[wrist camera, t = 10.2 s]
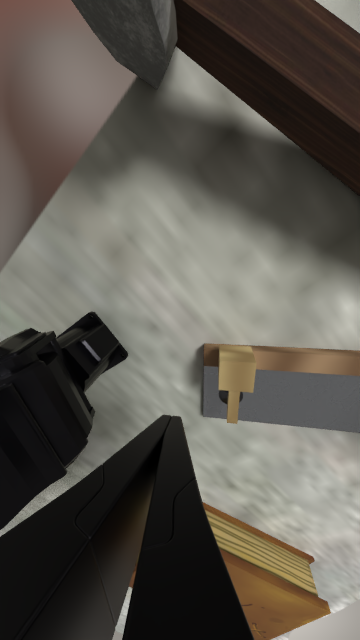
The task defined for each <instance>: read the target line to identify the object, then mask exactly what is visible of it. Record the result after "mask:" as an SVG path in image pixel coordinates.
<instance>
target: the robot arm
mask: <svg viewBox="0 0 360 640" xmlns="http://www.w3.org/2000/svg"><path fill="white" fill-rule="evenodd" d="M91 315H92V316H93V318H92V317H91ZM55 337H56V335H55V333H54V331H51V332H47V333H45V332H44V333H41V332H38V331H36V330H34V329H32V328H30V329H26V330H24V331H22V332H19V333H17V334H15V335H13V336H11V337H9V338H7V339H5V340H3V341H2V342H0V530H1V529H2V528H4V527H5V526H6V525H7V524H8V523H9V522H10V521H11V520H12V519H13V518H14V517H15V516H16V515H17V514H18V513H19V512H20V511H21V510H22V509H23V508H24V507H25V506H26V505H27V504H28V503H29V502H30V501H31V500H32V499H33V498H34V497H35V496H37V495H38V494H39V493H40V492H42V491H43V490H44V489H45V488H47V487H48V486H49V485H51V484H52V483H54V482H56V481H57V480H59V479H60V478H62V477H64V476H65V475H66V474H67V470H66V468H67V467H68V466H69V465H70V464H71V463H72V462H74V460H75V459H76V458H77V457H78V456H79V454H80V453H81V452H82V450H83V449H84V448H85V447H86V445H87V443H88V440H87V437H88V435H89V433H90V430H91V428H92V421H93V416H94V413H95V411H94V409H93V407H91V405H90V403H89V402H88V400H87V398H86V396H85V394H84V393H85V391H86V390H87V389H88V388H89V387H90V386H91V385H92V384H93V382H94V381H95V380H96V379H97V378H98V377H99V376H100V375H101V374H102V373H104V372H105V371H107V370H109V369H110V368H112V367H113V366H115V365H117V364H118V363H120V362H122V361H123V360H125V359H126V358H127V357H128V353H127V351H126V350H125V349H124V348H123V346H122V345H121V344H120V343H119V341H118V340H117V339H116V337H115V336H114V335H113V334H112V332H111V331H110V330H109V329H108V327H107V326H106V325H105V324H104V323H103V322H102V321H101V319H100V318H99V317H98V316H97V314H96V313H95V312H89V313H88V314H86V315H85V316H84V317H82V318H81V319H80V320H79V321H77V322H76V323H75V324H73V325H72V326H71V327H70V328H68V329H67V330H66V331H64V332H63V333H62V334H61V335H59V336H58V337H57V338H55ZM122 354H124V355H125V356H123V355H122ZM140 549H141V552H140ZM139 552H140V554H139ZM138 555H139V559H138ZM137 559H138V564H137V569H136V574H135V579H134V584H133V589H132V594H131V599H130V604H129V609H128V614H127V619H126V623H125V628H124V633H123V638H122V640H255V639H254V637H253V634H252V631H251V629H250V626H249V624H248V621H247V619H246V616H245V613H244V611H243V608H242V606H241V603H240V600H239V598H238V595H237V593H236V590H235V588H234V585H233V582H232V580H231V577H230V575H229V572H228V569H227V567H226V564H225V562H224V559H223V557H222V554H221V551H220V549H219V546H218V544H217V541H216V538H215V536H214V533H213V531H212V528H211V525H210V523H209V520H208V517H207V514H206V512H205V509H204V506H203V503H202V499H201V496H200V492H199V488H198V484H197V480H196V477H195V473H194V469H193V464H192V460H191V456H190V452H189V448H188V444H187V440H186V436H185V432H184V427H183V423H182V419H181V417H180V416H170V415H162V416H161V417H160V418H158V419H157V420H156V421H155V422H153V423H152V424H151V425H150V426H148V427H147V428H146V429H145V430H144V431H142V432H141V433H140V434H139V435H137V436H136V437H135V438H134V439H132V440H131V441H130V442H129V443H128V444H126V445H125V446H124V447H123V448H121V449H120V450H119V451H118V452H117V453H115V454H114V455H113V456H112V457H110V458H109V459H108V460H107V461H105V462H104V463H103V465H100V466H99V467H98V468H96V469H95V470H94V471H93V472H91V473H90V474H89V475H88V476H86V477H85V478H84V479H82V480H81V481H80V482H78V483H77V484H76V485H74V486H73V487H71V488H70V489H69V490H67V491H66V492H64V493H63V494H62V495H60V496H59V497H57V498H56V499H54V500H53V501H51V502H50V503H49V504H47V505H46V506H44V507H43V508H41V509H40V510H38V511H37V512H35V513H34V514H33V515H31V516H30V517H28V518H27V519H25V520H24V521H22V522H21V523H20V524H18V525H17V526H15V527H14V528H12V529H11V530H9V531H8V532H6V533H5V534H4V535H2V536H1V537H0V640H112V638H113V635H114V631H115V627H116V625H117V622H118V619H119V616H120V613H121V609H122V606H123V603H124V600H125V597H126V593H127V590H128V587H129V584H130V581H131V578H132V574H133V571H134V568H135V565H136V562H137Z"/></svg>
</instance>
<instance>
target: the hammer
mask: <svg viewBox="0 0 360 640" xmlns="http://www.w3.org/2000/svg"><path fill="white" fill-rule="evenodd" d="M72 2H73V3H74V5H75V6H76V8H77V9H78V10H79V12H80V13H81V15H82V16H83V18H84V19H85V20H86V22H87V23H88V25H89V26H90V28H91V29H92V31H93V32H94V33H95V35H96V36H97V37H98V38H99V40H100V41H101V42H102V43H103V45H104V46H105V47H106V48H107V49H108V51H109V52H110V53H111V55H112V56H113V57H114V58H115V60H116V61H117V62H119V63H120V64H121V65H123V66H125V67H126V68H127V69H129V70H130V71H132V72H133V73H135V74H136V75H137V76H139V77H140V78H142V79H143V80H144V81H146V82H147V83H149V84H150V85H152V86H153V87H155V88H156V89H158V87H159V85H160V82H161V80H162V78H163V76H164V74H165V71H166V69H167V67H168V64H169V62H170V59H171V56H172V53H173V50H174V48H175V46H176V47H177V48H179V49H180V50H181V51H182V52H184V53H185V54H186V55H187V56H189V57H190V58H191V59H192V60H193V61H195V62H196V63H197V64H198V65H200V66H201V67H202V68H203V69H204V70H206V71H207V72H208V73H209V74H211V75H212V76H213V77H214V78H215V79H217V80H218V81H219V82H220V83H222V84H223V85H224V86H225V87H227V88H228V89H229V90H230V91H231V92H233V93H234V94H235V95H236V96H238V97H239V98H240V99H241V100H242V101H244V102H245V103H246V104H247V105H249V106H250V107H251V108H252V109H253V110H255V111H256V112H257V113H258V114H260V115H261V116H262V117H263V118H265V119H266V120H267V121H268V122H269V123H271V124H272V125H273V126H274V127H276V128H277V129H278V130H279V131H280V132H282V133H283V134H284V135H285V136H287V137H288V138H289V139H290V140H292V141H293V142H294V143H295V144H296V145H298V146H299V147H300V148H301V149H303V150H304V151H305V152H306V153H307V154H309V155H310V156H311V157H312V158H314V159H315V160H316V161H317V162H318V163H320V164H321V165H322V166H323V167H325V168H326V169H327V170H328V171H330V172H331V173H332V174H333V175H334V176H336V177H337V178H338V179H339V180H341V181H342V182H343V183H344V184H345V185H347V186H348V187H349V188H350V189H352V190H353V191H354V192H355V193H356V194H358V195H359V196H360V33H358V32H357V31H356V30H354V29H353V28H352V27H350V26H349V25H347V24H346V23H345V22H343V21H342V20H341V19H339V18H338V17H337V16H335V15H334V14H332V13H331V12H330V11H328V10H327V9H326V8H324V7H323V6H322V5H320V4H319V3H318V2H316V1H315V0H72Z"/></svg>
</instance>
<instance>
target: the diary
mask: <svg viewBox="0 0 360 640" xmlns="http://www.w3.org/2000/svg"><path fill="white" fill-rule="evenodd" d="M202 503H203V502H202ZM203 506H204V509H205V512H206V514H207V517H208V520H209V523H210V525H211V528H212V531H213V533H214V536H215V538H216V541H217V544H218V546H219V549H220V551H221V554H222V557H223V559H224V562H225V564H226V567H227V569H228V572H229V575H230V577H231V580H232V582H233V585H234V588H235V590H236V593H237V595H238V598H239V600H240V603H241V606H242V608H243V611H244V613H245V616H246V619H247V621H248V624H249V626H250V629H251V631H252V634H253V637H254V639H255V640H270V639H272V638H275V637H277V636H279V635H282V634H284V633H286V632H289V631H291V630H293V629H296V628H298V627H300V626H302V625H305V624H307V623H309V622H312V621H314V620H316V619H319V618H321V617H323V616H325V615H328V614H330V613H331V612H330V609H329V606H328V602H327V601H325V600H323V599H321V598H319V597H318V594H317V590H316V587H315V584H314V580H313V577H312V573H311V570H310V566H309V564H311V563H312V562H314V558H313V557H312V556H310V555H308V554H306V553H304V552H302V551H300V550H298V549H296V548H294V547H292V546H290V545H288V544H286V543H284V542H282V541H280V540H278V539H276V538H274V537H272V536H270V535H268V534H266V533H264V532H262V531H260V530H258V529H256V528H254V527H252V526H250V525H248V524H246V523H244V522H242V521H240V520H238V519H236V518H234V517H231V516H229V515H227V514H225V513H223V512H221V511H219V510H217V509H215V508H213V507H211V506H209V505H207V504H205V503H203ZM140 552H141V549H140ZM140 552H139V554H140ZM138 559H139V555H138ZM138 559H137V562H136V565H135V568H134V571H133V574H132V578H131V581H130V584H129V587H131V588H133V584H134V579H135V574H136V569H137V564H138Z"/></svg>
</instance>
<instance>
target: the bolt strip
mask: <svg viewBox="0 0 360 640" xmlns="http://www.w3.org/2000/svg"><path fill="white" fill-rule="evenodd" d="M227 395H228V391H226V390H219V388H218V367H212V366H204V402H203V417H213V418H222V419H227V402H228V400H227ZM238 420H242V421H251V422H261V423H271V424H280V425H290V426H300V427H309V428H319V429H329V430H338V431H348V432H358V433H360V376H352V375H336V374H321V373H305V372H290V371H274V370H259V369H256V373H255V382H254V390H253V393H250V392H240V397H239V409H238Z"/></svg>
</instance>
